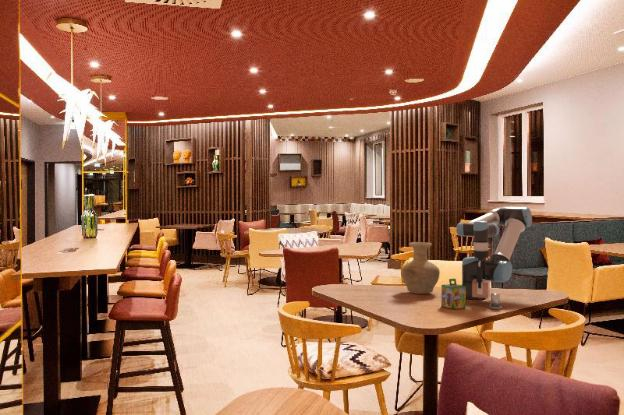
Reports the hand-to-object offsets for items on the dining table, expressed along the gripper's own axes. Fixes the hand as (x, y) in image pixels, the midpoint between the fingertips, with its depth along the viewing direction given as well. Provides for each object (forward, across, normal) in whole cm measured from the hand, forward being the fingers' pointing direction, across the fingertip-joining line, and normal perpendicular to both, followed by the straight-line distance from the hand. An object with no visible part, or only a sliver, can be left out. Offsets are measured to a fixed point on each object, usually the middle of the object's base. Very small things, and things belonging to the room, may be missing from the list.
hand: (481, 292), depth 282 cm
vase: (+7, +19, +37) cm, 42 cm away
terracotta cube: (+2, 0, 0) cm, 2 cm away
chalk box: (+6, -13, +12) cm, 19 cm away
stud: (+6, -6, -8) cm, 12 cm away
